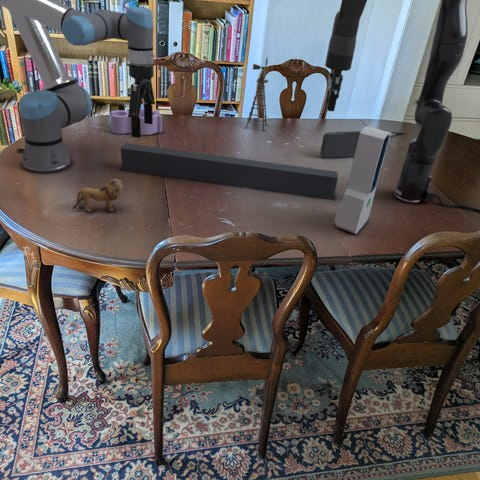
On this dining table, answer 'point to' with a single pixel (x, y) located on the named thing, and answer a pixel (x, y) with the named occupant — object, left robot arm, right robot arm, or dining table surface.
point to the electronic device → (362, 179)
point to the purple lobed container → (123, 122)
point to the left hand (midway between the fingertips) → (142, 130)
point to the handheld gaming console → (339, 144)
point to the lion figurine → (100, 194)
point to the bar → (229, 171)
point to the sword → (396, 133)
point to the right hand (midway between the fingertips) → (329, 106)
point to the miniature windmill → (257, 67)
